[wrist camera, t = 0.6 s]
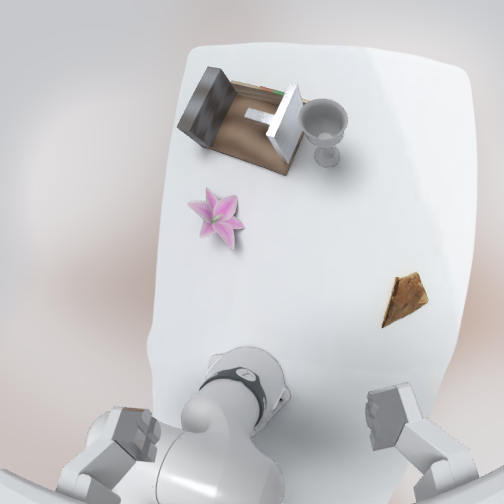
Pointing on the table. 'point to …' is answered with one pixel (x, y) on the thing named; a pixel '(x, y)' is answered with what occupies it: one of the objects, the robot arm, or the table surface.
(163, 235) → the table surface
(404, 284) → the shard
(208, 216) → the lily
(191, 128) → the wooden book stand
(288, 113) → the grey metal angled plate
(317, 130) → the chalice
